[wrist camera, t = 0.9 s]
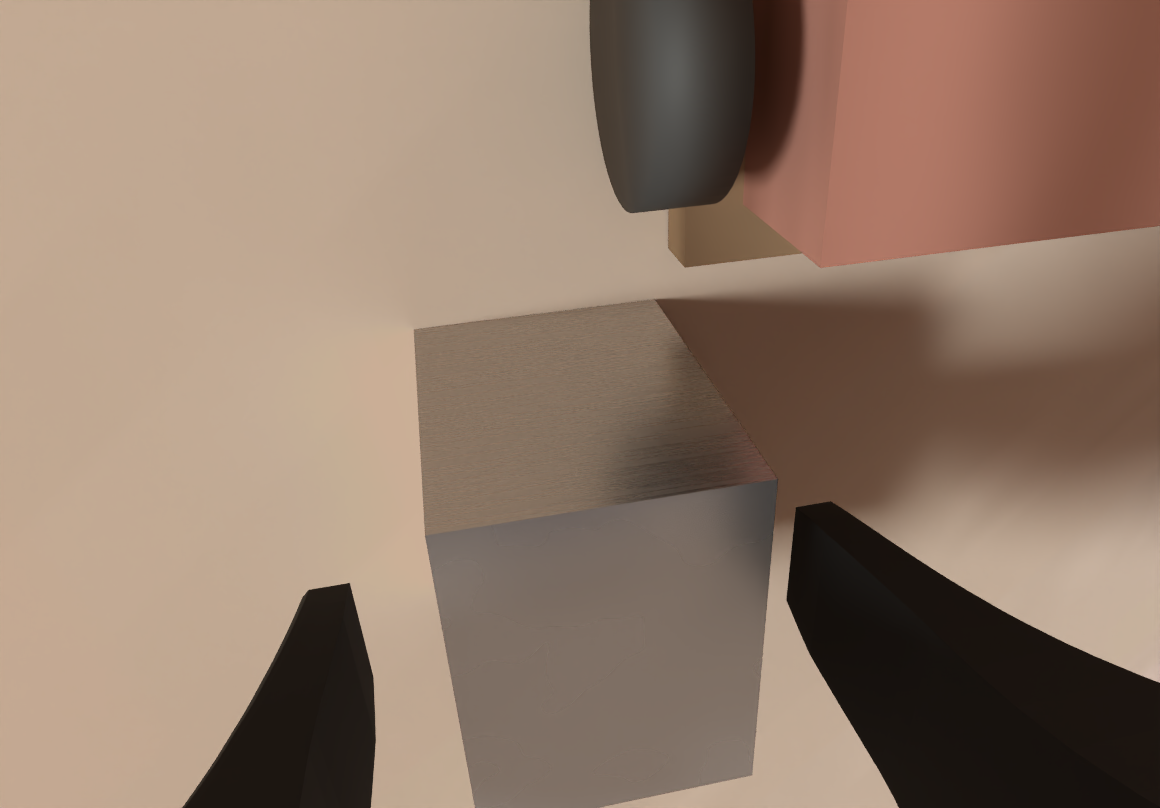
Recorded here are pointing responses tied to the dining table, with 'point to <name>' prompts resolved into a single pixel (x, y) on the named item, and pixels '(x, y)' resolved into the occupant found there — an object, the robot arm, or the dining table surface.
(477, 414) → the grey block
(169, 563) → the dining table surface
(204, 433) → the dining table surface
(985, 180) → the chassis
